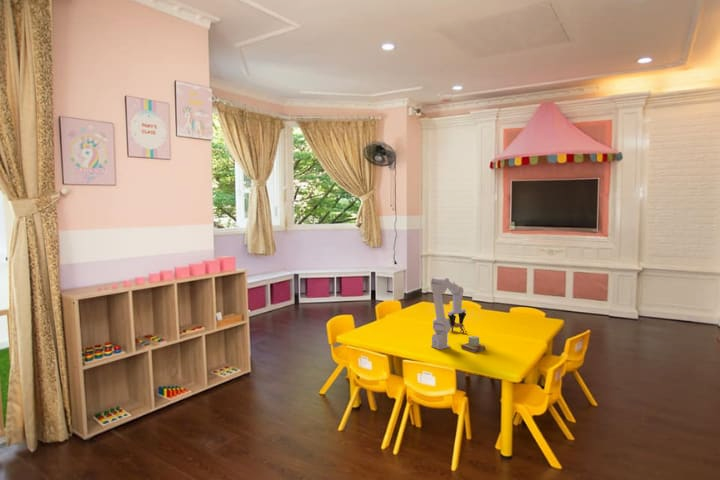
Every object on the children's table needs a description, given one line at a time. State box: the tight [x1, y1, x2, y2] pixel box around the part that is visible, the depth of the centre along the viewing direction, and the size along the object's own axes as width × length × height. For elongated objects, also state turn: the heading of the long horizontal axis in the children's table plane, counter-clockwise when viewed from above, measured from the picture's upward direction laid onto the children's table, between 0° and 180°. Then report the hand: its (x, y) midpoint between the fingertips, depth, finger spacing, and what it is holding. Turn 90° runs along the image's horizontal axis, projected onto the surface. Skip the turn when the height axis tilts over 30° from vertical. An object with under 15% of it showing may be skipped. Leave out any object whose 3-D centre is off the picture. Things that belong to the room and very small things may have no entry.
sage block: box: [468, 335, 480, 347], centre depth 272 cm, size 4×4×5 cm
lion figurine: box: [447, 317, 468, 334], centre depth 310 cm, size 15×5×9 cm, turn 69°
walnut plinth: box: [460, 342, 486, 354], centre depth 273 cm, size 10×10×3 cm
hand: (456, 324), depth 294 cm, fingers open, 7 cm apart
